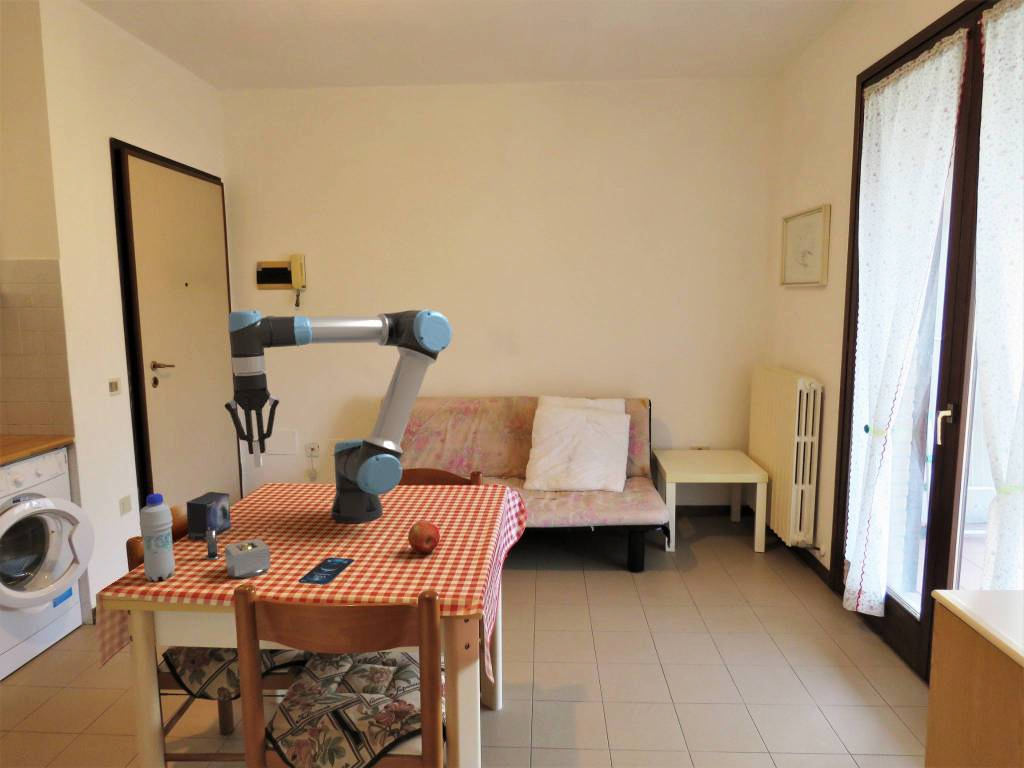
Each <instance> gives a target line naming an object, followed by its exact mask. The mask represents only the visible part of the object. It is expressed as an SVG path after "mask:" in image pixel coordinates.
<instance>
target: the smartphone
mask: <svg viewBox="0 0 1024 768" xmlns="http://www.w3.org/2000/svg"><path fill="white" fill-rule="evenodd" d="M354 562H355V559H354V558H344V557H326V558H325V559H324V560H322V561H321V562H319V564H317V565H316V566H315V567H313V568H312V569H310V570H309V571H308V572H307V573H306V574H304V575H303V576H301V577H300V578H299V579H298V582H299V583H300V584H312V585H313V584H314V585H329V584H330V583H332V582H333V581H334V580H335V579H336V578H337V577H338V576H339V575H341V574H342V573H343V572H344V571H345V570H346V569H348V567H349V566H350V565H352V564H353V563H354Z"/></svg>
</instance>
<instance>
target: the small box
mask: <svg viewBox="0 0 1024 768" xmlns="http://www.w3.org/2000/svg"><path fill="white" fill-rule="evenodd" d="M230 502H231V501H230V493H227V492H226V493H225V492H214V491H210V492H207V493H205V494H203V495H201V496H199V497H198V496H197V497H196V498H194V499H191V500H189V501H186V502H185V503H186V518H187V520H186V521H187V539H188V540H198V541H207V536H206V531H207V530H210V529H215V530H216V537H217V536H218V535H220V534H223V533H224V532H227V531H228V530H230V529H232V527H231V525H232V522H231V507H230V506H231V505H230Z"/></svg>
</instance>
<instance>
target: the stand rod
mask: <svg viewBox="0 0 1024 768" xmlns="http://www.w3.org/2000/svg"><path fill="white" fill-rule="evenodd" d="M206 536H207V540H206V549H207V551H206V552H207V555H206V556H205V560H206V561H214V560H215V561H216V560H218V559H220V558H221V554H219V553H218V545H217V536H216V530H215V529H210V530H207V531H206Z"/></svg>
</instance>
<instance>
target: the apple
mask: <svg viewBox="0 0 1024 768" xmlns="http://www.w3.org/2000/svg"><path fill="white" fill-rule="evenodd" d="M407 536H408V537H407V538H408V539H407V540H408V544H409V545H410V547H411V548H412V550H413V551H414V552H416V553H418V554H421V555H424V554H429V553H431V552H432V551H434V550H435V549H436V548H437V547H438V545H439V544H440V540H441V535H440V531H439V529H438V527H437V526H436V524H435V523H433V522H431V521H429V520H425V519H424V520H423V519H421V520H418V521H417V522H415V523H413V524H412V526H411V527H410V528H409V531H408V535H407Z"/></svg>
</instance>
